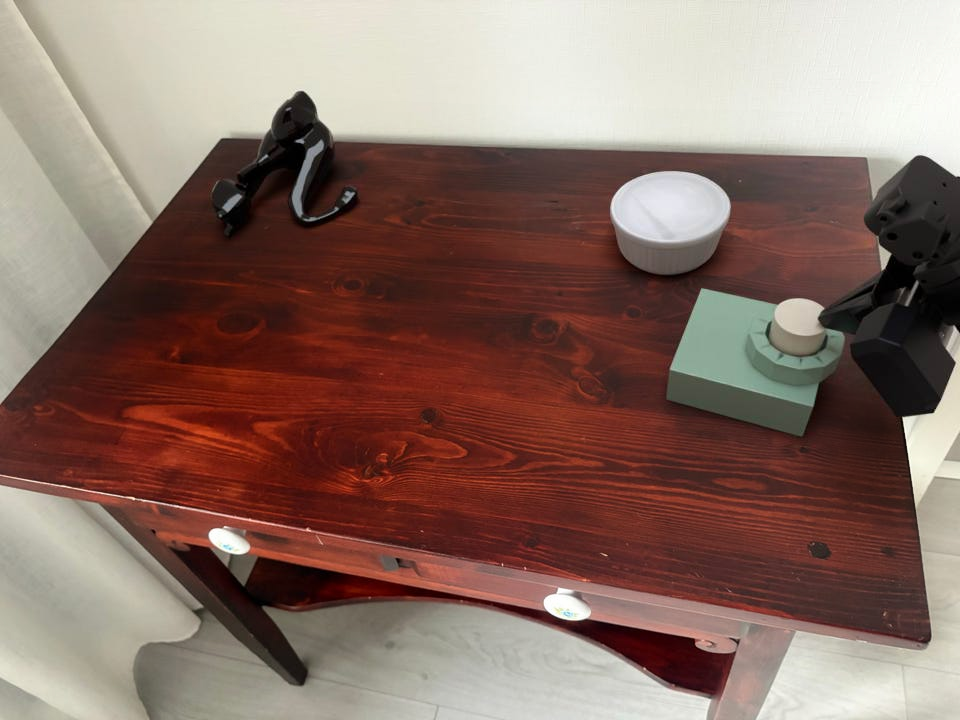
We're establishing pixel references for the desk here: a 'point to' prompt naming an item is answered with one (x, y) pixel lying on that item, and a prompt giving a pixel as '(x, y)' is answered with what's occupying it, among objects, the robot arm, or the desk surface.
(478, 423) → the desk surface
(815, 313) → the cream cylindrical button
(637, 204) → the ramekin
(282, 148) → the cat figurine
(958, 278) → the robot arm
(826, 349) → the button base
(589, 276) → the desk surface
